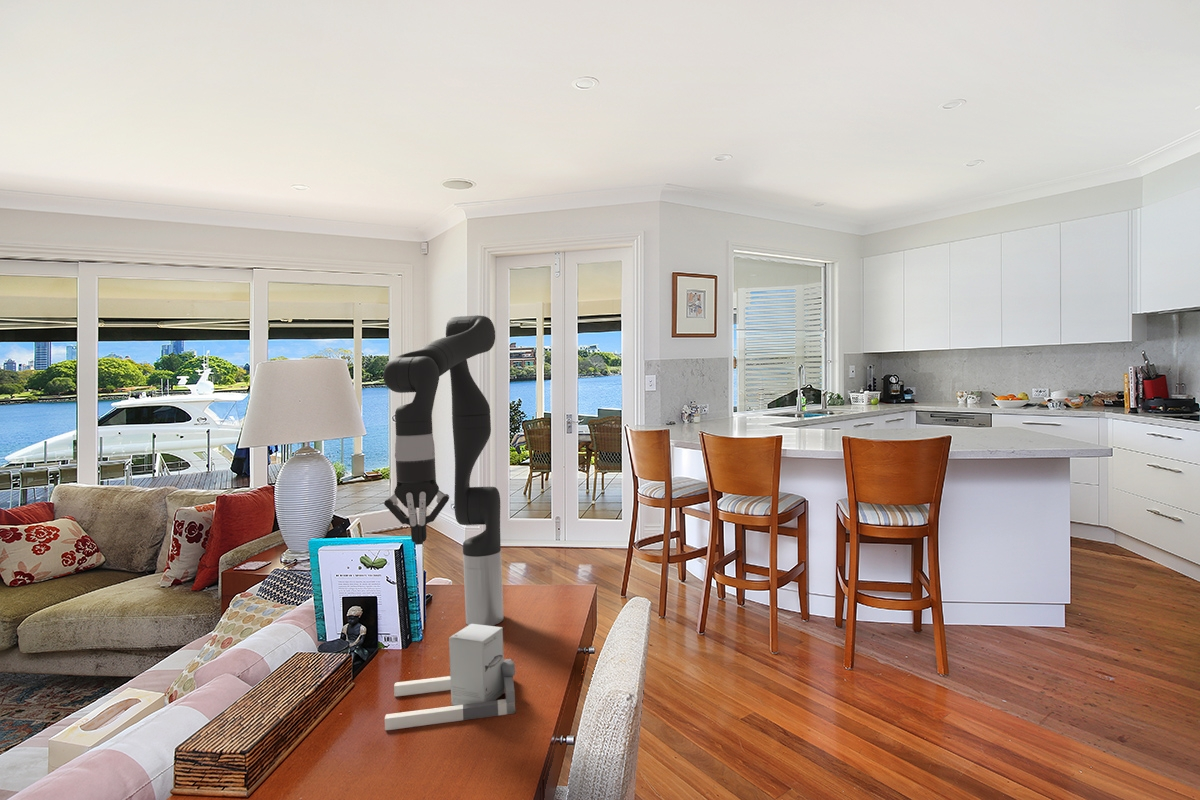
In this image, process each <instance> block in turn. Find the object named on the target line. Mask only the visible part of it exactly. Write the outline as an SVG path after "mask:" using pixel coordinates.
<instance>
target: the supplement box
mask: <svg viewBox="0 0 1200 800" xmlns="http://www.w3.org/2000/svg"><path fill="white" fill-rule="evenodd" d="M448 645H449V647H448V648H449V649H448V650H449V674H450V675H449V676H450V680H451V690H450V701H451V702H450V703H451V704H450V705H451V706H456V705H463V704H471V703H479V702H487V701H495V700H498V699H499V698H500V697H501V696H502V695H503V694H505V683H504V677H503V676H502V663H503V662H504V659H505V658H504V655H505V654H504V631H503V627H502V626H495V625H492V626H488V625H479V624H470V625H466V626H464V628H462V629H460V630H459V631H457V632H456V633H454V634H452V635H451V636H450V637H449V638H448Z"/></svg>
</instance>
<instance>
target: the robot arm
mask: <svg viewBox="0 0 1200 800" xmlns="http://www.w3.org/2000/svg"><path fill="white" fill-rule="evenodd" d="M495 342H496V329H495V325H494V323H493V321H492V319H490V317H488V316H486V315H464V316H463V315H462V316H453V317H450V318H449V319H448V320H447V323H446V327H445V337H441V338H437V339H435V340H433V341H431V342H429V343H428V344H426V345H424V346H423V347H421V348H419V349H416V350H413V351H410V352H407V353H403V354H399V355H398V356H394V357H393V358H391V359H390V360H389V361H388V362H387V364H385V366H384V369H383V375H382V376H383V377H382V378H383V382H384V384H385V385H386V387H387V388H388V389H389V390H391V391H392V392H394V393H398V394H399V393H400V394H401V393H403V394H405V393H407V394H408V393H415V395H414V398H413V400H412V402H410V403H407V404H404V405H400V406H398V407H397V408H396V409H395V413H394V414H395V415H394V421H395V424H394V425H395V444H394V446H395V447H394V449H395V450H394V458H395V473H396V486H395V488H394V491H393V492H394V493H393V494H392V495H391V496H390V497H388V498H386V499H385V500H384V503H383V504H384V507H386V508H387V510H389V511H390V513H392V515H393V516H394V517H395V518H396V519H397V520H398V521H399V522H400V524H402V525H408V526H409V527H410V534H411V535H410V536H411V538H410V539H411V542H412V543H414V545H415V546H418V545H423V544H424V542H426V541H427V537H428V536H427V533H428V531H427V525H428V524H429V523H432V522H434V521H435V520H436V518H437V517H438V515H439V514H440V513H441V512H442V511H443V509H444V508H445V506H446V504H447V503H448V502H449V500H450V494H448V493H444V492H442V491H441V490H440V488H439V484H438V483H437V478H436V477H437V475H436V474H437V473H436V471H437V470H436V452H435V441H434V436H433V417H432V415H433V409H434V405H435V398H436V394H437V391H438V385H439V381H440V377H441V376H443V375H444V374H446V373H447V372H448V371H449V375H450V386H451V387H450V388H451V391H450V392H451V415H452V416H451V423H452V434H453V435H452V437H453V449H454V450H453V451H454V453H453V454H454V499H453V500H454V502H453V508H454V515H455V521H456V522H457V523H458V524H459V525H460V526H461V525H463V526H474V525H476V526H478V525H479V526H480V525H485V529H484V530H483V531H482V532H481V533H479V534H477V535H475V536H471V537H469V538H468V539H466V540H464V541H463V543H462V559H463V560H462V561H463V562H462V563H463V564H462V565H463V581H464V582H463V583H464V584H463V585H464V608H465V624H466V626H468V625H470V624H479V625H488V626H495V625H497V624H500V623H501V622H502V621H504V619H505V618H504V598H503V597H504V593H503V592H504V591H503V574H502V573H503V570H502V569H503V567H502V549H501V548H502V547H501V545H502V544H501V496H500V492H499V489H498V488H497V487H496V486H475V487H474V486H472V487H471V485H470V481H471V477H472V476H471V475H472V471H473V469H474V466H475V464H476V462H477V460H478V458H479V457H480V455H481V454H482V452H483V450H484V448H485V446H486V445H487V443H488V441H489V439H490V437H491V432H492V425H491V424H492V423H491V422H492V421H491V409H490V404H489V402H488V400H487V398H486V397H485V395H484V393H483V392H482V391H481V389H480V388H479V386H478V385H477V383H476V382H475V380H474V378H473V377H472V374H471V372H470V369H469V364H468V359H470V358H473V357H475V356H478V355H480V354H483V353H488V352H490V350H492V348H493V347H494V345H495ZM435 497H437V498H436V503H437V504H436V505H435V507H434V508H433V510H432V511H431V512H430V514H428V513H427V510H428V507H429V506H430V505H431V503H432V502H433V500H434V499H435ZM399 502H400V503H401V504H402V506H404V507H405V508H406V509H407V513H408V515H407V514H406V513H405V512H404V511H403V510H402V508H400V507H399ZM417 508H418V512H417ZM418 514H419V515H418ZM427 514H428V515H427Z"/></svg>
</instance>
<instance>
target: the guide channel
mask: <svg viewBox="0 0 1200 800" xmlns="http://www.w3.org/2000/svg"><path fill="white" fill-rule="evenodd" d="M502 676H503V677H504V683H505V692H504V695H505V696H504V697H505V698H504V699H496V700H495V701H487V702H479V703H471V704H463V705H451V706H450V705H449V706H442V707H441V706H440V707H434V708H427V709H418V710H411V711H410V710H409V711H403V712H395V713H386V714H385V716H384V731H392V730H398V729H399V730H400V729H405V728H406V729H407V728H414V727H415V728H416V727H421V726H427V725H429V726H430V725H437V724H444V723H452V722H459V721H466V720H475V719H483V718H490V717H496V716H505V715H511V714H512V715H513V714H516V695H515V694H516V692H515V684H514V676H516V664H515V661H512V658H506V659H505V658H504V662H503V663H502ZM393 687H394V688H393V692H394V697H396V698H397V697H402V696H412V695H418V694H419V695H420V694H426V693H427V694H428V693H436V692H444V691H451V680H450V675H447V676H439V677H431V678H423V679H415V680H414V679H413V680H405V681H397V682H395V683H394V686H393Z"/></svg>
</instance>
